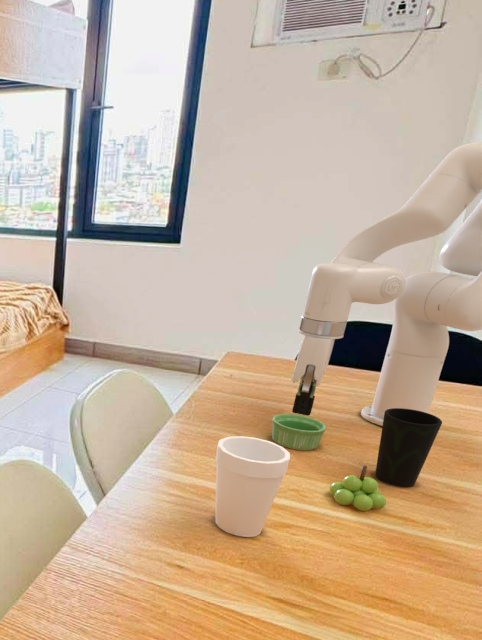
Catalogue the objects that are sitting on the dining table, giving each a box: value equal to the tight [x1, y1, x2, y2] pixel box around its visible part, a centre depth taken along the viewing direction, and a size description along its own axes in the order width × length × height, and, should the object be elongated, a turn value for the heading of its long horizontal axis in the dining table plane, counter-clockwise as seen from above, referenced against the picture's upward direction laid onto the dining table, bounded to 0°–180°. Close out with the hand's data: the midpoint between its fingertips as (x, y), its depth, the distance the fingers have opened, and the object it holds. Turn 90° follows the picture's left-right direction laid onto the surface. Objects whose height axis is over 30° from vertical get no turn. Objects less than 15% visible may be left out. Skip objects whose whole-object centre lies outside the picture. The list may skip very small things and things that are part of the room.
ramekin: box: [271, 413, 327, 451], centre depth 124 cm, size 9×9×4 cm
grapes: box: [329, 464, 387, 512], centre depth 102 cm, size 8×7×7 cm
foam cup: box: [214, 435, 291, 538], centre depth 94 cm, size 10×9×13 cm
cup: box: [374, 408, 443, 488], centre depth 108 cm, size 8×8×12 cm
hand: (301, 412), depth 130 cm, fingers closed
